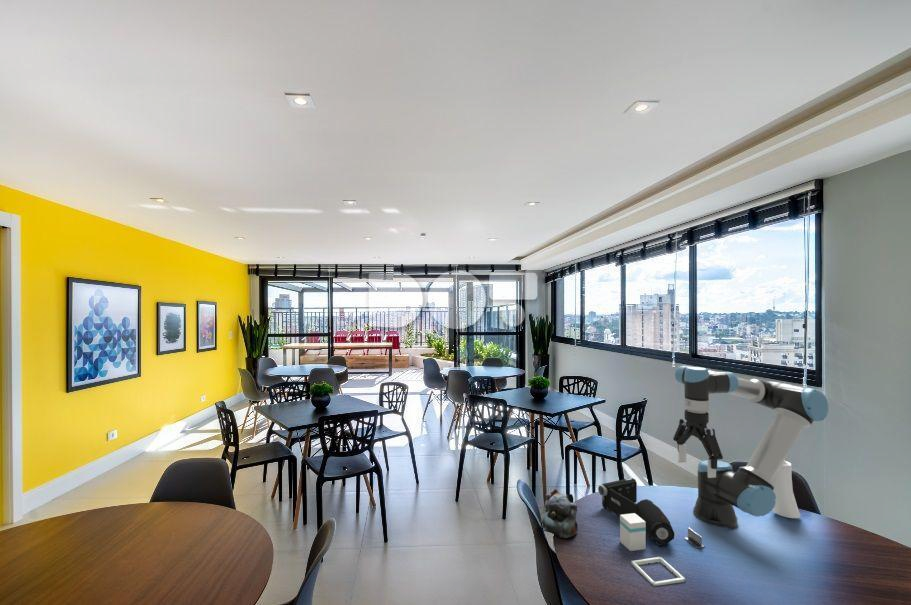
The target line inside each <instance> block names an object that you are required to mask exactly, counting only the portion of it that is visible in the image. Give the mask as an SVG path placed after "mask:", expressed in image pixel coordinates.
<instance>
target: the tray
mask: <svg viewBox="0 0 911 605" xmlns="http://www.w3.org/2000/svg"><path fill="white" fill-rule="evenodd" d="M630 562H631V563H630V564H631V566H632V567H633V568H635V570H637V572H639V573H640V575H641V576H643V577H644V578H645V579H646V580H647V581H648V582H649V583H650V584H651V585H652V586H653V587H656V586H663V585H664V586H665V585H670V584H671V585H672V584H678V583H680V584H681V583H686V578H685V577H684V576H683V575H682V574H680V572H679V571H678V570H676V569H675V568H674V567H673V566H672V565H671V564H669V563H668V562H667V560H665V559H664V558H663V557H662V556H655V557H651V558H650V557H649V558H644V559H637V560H631V561H630ZM655 562H658V563H661V564H662V565H663V566H664V565H665V566H666V567H665V566H664V567H665V568H666V569H668V570H669V571H670V572H671V573H672V572H673V573H672V574H674V575H675V576H676V578H670V579H663V580H658V581H655V580H653V579H652V578H651V577H650V576H649V575H648V574H647V573H646V572H645V571H644V570H643V569H642V568H641V567H640V566H641V565H642V566H643V565H648V563H650V564H656V563H655Z"/></svg>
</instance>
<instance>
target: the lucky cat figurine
mask: <svg viewBox="0 0 911 605" xmlns="http://www.w3.org/2000/svg"><path fill="white" fill-rule="evenodd" d="M545 498H546V500H545V502H544V508H545V511H544V512H545V513H543V515H541V518H540V522H541V524H542V528H543V531H544V532H547V533H549V534H550V533H551V534H552V535H555V536H556V537H559V538H561V539H568V538H571V537H573V536H575V535H576V534H577V533H578V532H579V529H578V527H579V526H578V522H577V519H576V518H577V512H578V505H577V503H575V502H574V500H575V499H574V496H573V494H572V493H570V494H565V493H560V492H559V490H558V489H557V488H554V490H552V492H548V493H545Z"/></svg>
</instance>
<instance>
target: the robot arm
mask: <svg viewBox="0 0 911 605" xmlns="http://www.w3.org/2000/svg"><path fill="white" fill-rule="evenodd" d="M674 377H675V380H676V381H677V382H678V384H679V383H680V384H683V385H684V409H685V410H684V413H683V414H684V418H680V419H679V421H678V427H677V428H676V431H675V433H674V436H673V438H672V440H673V441H675V442H676V444H677V452H678V463H680V464H681V463H687V444H686V442H687V441H688V440H689V439H690V438H691V436H692V437H695V438H697V439H698V440H699V441H700V442H701V444H702V447H703V448H704V450H705V452H706V453H707V455H708V457H707V460H701V461H699V462H698V465H697V466H698V467H697V498H696V501H695V504H694V506H693V509H692V513H693V515H694V516H695V517H696V518H697V519H698V520H700V521H702V522H704V523H707V524H709V525H712V526H716V527H723V528H727V529H728V530H732V529H736V528H737V527H738V517H737V515H736V511H735V508H737V509H739V510H740V511H741V512H743V513H747V514H749V515H750V516H753V517H764V516H766V515H768V514H770V513H771V512H772V511H773V508H774V506H775V503H776V501H775V499H776V496H775V493H774V492H773V489H774V485H773V483H772V480H773V478H774V477H775V475H776V473H777V472H778V470H779V468H780V466H781V465H782V463H783V461H784V460H785V459H786V458H787V456H788V455H789V453H790V451H791V450H792V448H793V446H794V444H795V443H796V441H797V439H798V437H799V436H800V434H801V433H802V430H803V429H808V428H810V427H811V426H812V424H813V423H814V422H821V421H824V420H825V419H826V418H827V416H828V414H829V403H828V399H827V397H826V395H825V394H824V393H823V392H822V391H820V390H818V389H815V388H812V387H809V386H801V385H795V384H792V383H786V382H781V381H771V380H763V379H762V380H761V379H756V378H752V379H746V378H741V377H737V376H736V374H734V373H733V372H730V371H715V370H710V369H708V368H705V367H702V366H701V367H699V366H691V365H680V366H678V367H677V368H676V370H675V372H674ZM710 394H726V395H730V396H734V397H738V398H742V399H743V398H744V399H746V401H748V402H751V403H755V404H758V405H760V406H763V407H766V408H767V409H768V408H769V409H771V410H773V411H774V414H775V417H774V418H773V419H772V422H771V423H770V425H769V427H768V429H767V431H766V432H765V433H764V435H763V437H762V439H761V440H760V442H759V443H758V445H757V447H756V449H755V450H754V452H753V454H752V455H751V456H750V459H749V460H748V462H747V464H746V465H745V466H739V467H738V468H737V470H736V471H733V466H732V464H730V463H729V462H726V461H721V460H724V457H723V454H722V451H721V448H720V446H719V443H718V440H717V437H716V430H715V429H714V428H708V424H709V420H710V417H709V416H710V414H709V411H710V405H709V402H710V401H709V398H710V396H709V395H710ZM785 461H786V460H785Z"/></svg>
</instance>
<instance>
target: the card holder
mask: <svg viewBox="0 0 911 605" xmlns="http://www.w3.org/2000/svg"><path fill="white" fill-rule="evenodd" d="M702 539H703V537H702V536H701V535H700V534H699V533H697V532H695V531H694V530H693V529H692V528H690V527H687V537H684V540H686V541H687V542H688V543H690V544H691V545H693V547H695V548H696V549H704V548H706V546H705V545H704V544H703V540H702Z"/></svg>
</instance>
